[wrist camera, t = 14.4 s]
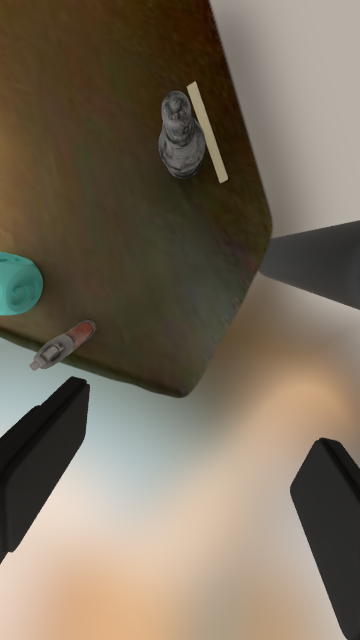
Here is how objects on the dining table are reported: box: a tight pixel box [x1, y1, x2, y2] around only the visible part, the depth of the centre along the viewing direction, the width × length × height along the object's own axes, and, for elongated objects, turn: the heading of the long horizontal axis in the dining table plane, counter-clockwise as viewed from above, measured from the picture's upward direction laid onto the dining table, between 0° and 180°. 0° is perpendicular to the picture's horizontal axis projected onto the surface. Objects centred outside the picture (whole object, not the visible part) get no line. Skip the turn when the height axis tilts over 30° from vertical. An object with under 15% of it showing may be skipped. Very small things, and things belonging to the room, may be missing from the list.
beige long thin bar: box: [187, 81, 228, 183], centre depth 29 cm, size 12×1×1 cm, turn 24°
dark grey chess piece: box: [159, 91, 205, 179], centre depth 24 cm, size 6×6×12 cm
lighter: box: [29, 320, 96, 370], centre depth 35 cm, size 8×3×10 cm, turn 127°
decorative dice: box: [0, 252, 43, 315], centre depth 34 cm, size 8×8×8 cm
